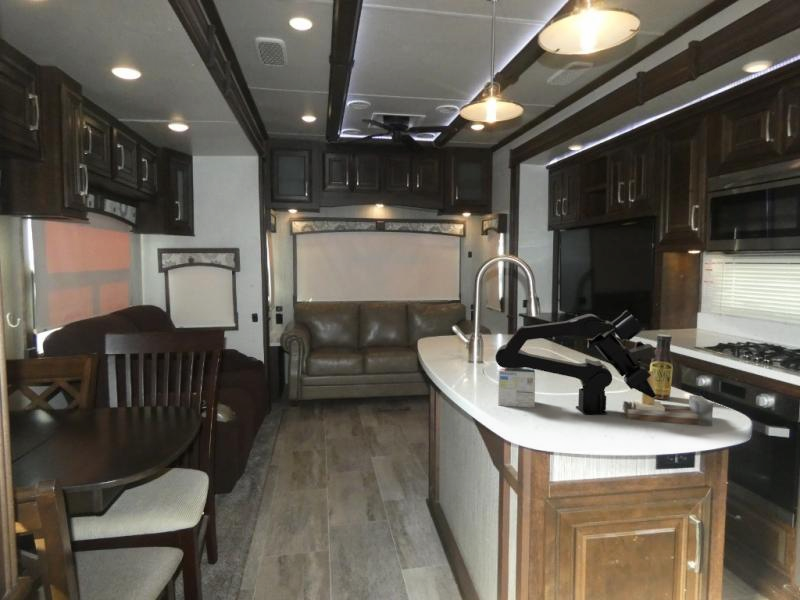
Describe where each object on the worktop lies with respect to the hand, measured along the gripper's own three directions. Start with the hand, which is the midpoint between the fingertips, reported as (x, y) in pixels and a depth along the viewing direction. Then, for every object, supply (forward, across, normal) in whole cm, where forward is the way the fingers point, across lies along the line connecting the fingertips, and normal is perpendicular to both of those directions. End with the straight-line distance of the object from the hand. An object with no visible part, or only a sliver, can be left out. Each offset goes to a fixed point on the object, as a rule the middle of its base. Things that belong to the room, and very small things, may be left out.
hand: (653, 395), depth 134 cm
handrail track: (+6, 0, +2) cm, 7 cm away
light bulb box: (-20, +2, +32) cm, 37 cm away
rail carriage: (+2, 0, +4) cm, 4 cm away
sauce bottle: (+9, +21, -1) cm, 23 cm away
